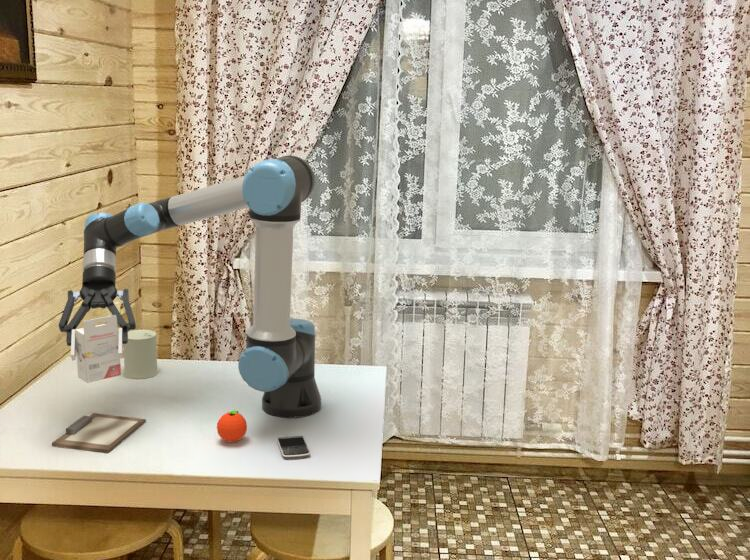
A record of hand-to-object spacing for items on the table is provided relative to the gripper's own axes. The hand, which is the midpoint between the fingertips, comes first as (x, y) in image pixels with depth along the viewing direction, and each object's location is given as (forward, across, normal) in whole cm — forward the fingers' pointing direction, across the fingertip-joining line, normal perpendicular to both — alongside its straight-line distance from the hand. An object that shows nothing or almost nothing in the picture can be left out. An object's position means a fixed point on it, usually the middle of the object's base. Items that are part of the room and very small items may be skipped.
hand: (96, 356), depth 195 cm
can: (-16, -8, -45) cm, 49 cm away
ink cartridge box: (+2, 0, -6) cm, 7 cm away
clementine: (+18, -30, -10) cm, 36 cm away
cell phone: (+23, -43, -6) cm, 49 cm away
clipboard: (+12, 0, -16) cm, 20 cm away
